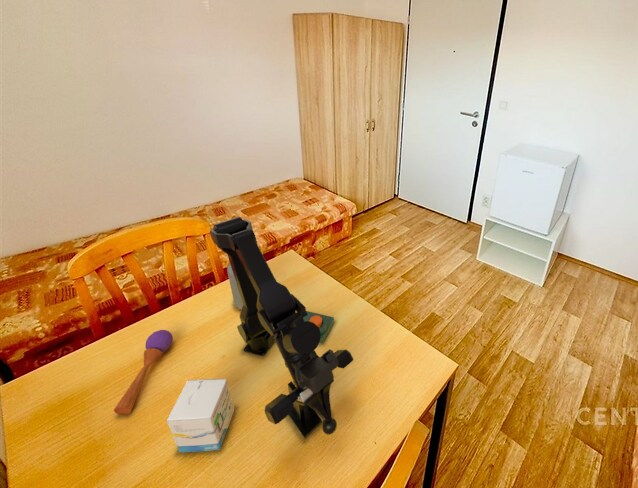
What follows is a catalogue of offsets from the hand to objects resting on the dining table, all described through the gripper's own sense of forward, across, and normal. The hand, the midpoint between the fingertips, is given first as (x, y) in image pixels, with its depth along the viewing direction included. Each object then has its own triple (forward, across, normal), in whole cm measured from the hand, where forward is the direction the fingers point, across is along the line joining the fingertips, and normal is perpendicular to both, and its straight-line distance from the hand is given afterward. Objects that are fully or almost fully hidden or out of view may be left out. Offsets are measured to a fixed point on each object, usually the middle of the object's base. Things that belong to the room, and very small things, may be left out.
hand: (329, 421), depth 66 cm
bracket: (0, 0, +14) cm, 14 cm away
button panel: (-14, +15, +27) cm, 33 cm away
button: (-15, +14, +23) cm, 31 cm away
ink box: (-9, -17, +22) cm, 29 cm away
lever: (-2, 0, +5) cm, 6 cm away
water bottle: (-31, +6, +44) cm, 54 cm away
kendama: (-26, -23, +39) cm, 53 cm away
